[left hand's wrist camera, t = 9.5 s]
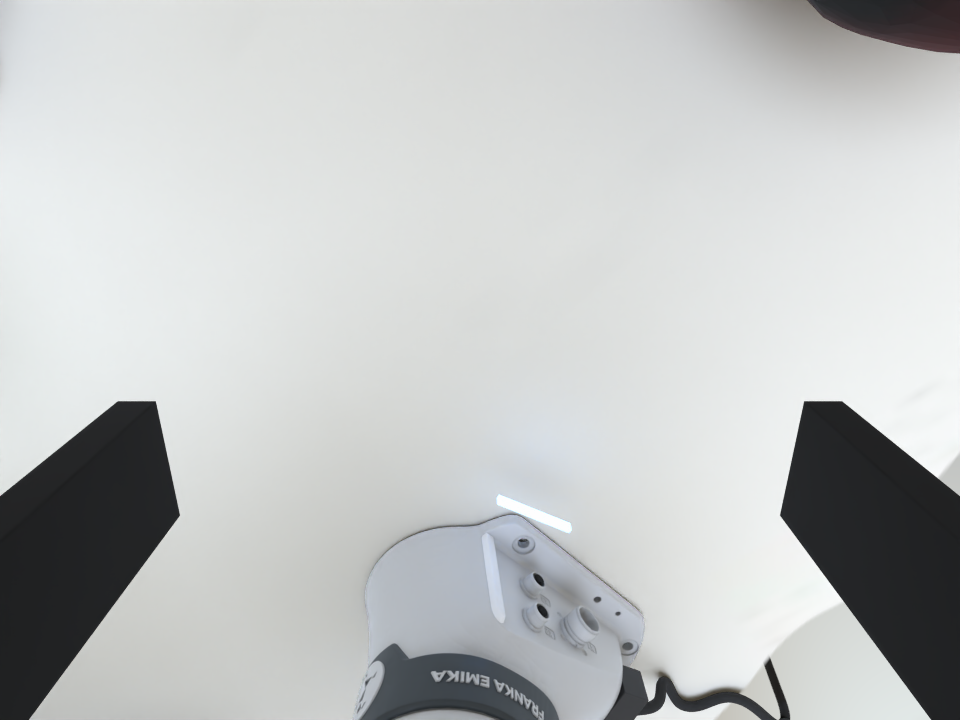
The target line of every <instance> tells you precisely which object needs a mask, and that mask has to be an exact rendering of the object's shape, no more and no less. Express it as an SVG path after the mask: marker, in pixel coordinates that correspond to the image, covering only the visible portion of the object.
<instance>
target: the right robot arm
mask: <svg viewBox="0 0 960 720" xmlns="http://www.w3.org/2000/svg"><path fill="white" fill-rule="evenodd" d="M497 504H498V505H500V506H503V507H505V508H508V509H510V510H513V511H515V512H518V513H520V514H523V515H525V516H528V517H530V518H533V519H535V520H538V521H540V522H543V523H545V524H548V525H550V526H553V527H555V528H558V529H560V530H563V531H565V532H568V533H570V531H571V525H570V523H568V522H566V521H563V520H561V519H558V518H556V517H553V516H551V515H549V514H546V513H544V512H541V511H539V510H536V509H534V508H531V507H529V506H526V505H524V504H521V503H519V502H516V501H514V500H511V499H509V498H506V497H504V496H501V495H498V497H497ZM520 539H527V541H525V542H520V541H519V540H520ZM365 606H366V611H367V616H368V625H369V656H368V670H367V671H366V674H365V676H364V678H363V681H362V684H361V687H360V690H359V694H358V697H357V701H356V706H355V710H354V715H353V720H634V719H635V718H636V716H638V715H646V714H651V713H654V712H656V711H658V710H659V709H660V708H661V707H662V706H663V704H664V702H665V698H666V692H667V694H668V696H669V698H670V700H671V701H672V703H673V704H674V705H675V706H676V707H677V708H679V709H680V710H683V711H687V712H696V711H701V710H704V709H707V708H710V707H712V706H715V705H718V704H721V703H727V702H730V703H736V704H739V705H742V706H744V707H746V708H747V709H749V710H750V711H752V712H753V713H754V714H755V715H757V716H758V717H759V718H760V719H761V720H776V719H775V718H773V717H772V716H771V715H770V714H769V713H768V712H766V711H765V710H764V709H763V708H762V707H761V706H760V705H758V704H757V703H756V702H754V701H753V700H751V699H750V698H748V697H746V696H744V695H741V694H738V693H734V692H721V693H717V694H714V695H711V696H708V697H706V698H703V699H700V700H697V701H685V700H683V699H681V698H680V697H679V695H678V694H677V692H676V689H675V687H674V685H673V683H672V682H671V680H670V679H669V678H667V677H661V678H659V679H658V681H657V684H656V692H655V697H654V699H653V700H651V701H649V702H648V697H647V694H646V690H645V687H644V683H643V680H642V676H641V673H640V671H638V670H635V669H632V668H630V667H629V666H630V665H631V663H632V662H633V660H634V659H635V657H636V655H637V653H638V651H639V649H640V646H641V644H642V641H643V636H644V629H645V624H644V619H643V615H642V614H641V613H640V612H639V611H638V610H637V609H636V608H635V607H634V606H633V605H631V604H630V603H629V602H628V601H626V600H625V599H624V598H623V597H621V596H620V595H619V594H618V593H616V592H615V591H614V590H613V589H611V588H610V587H609V586H608V585H606V584H605V583H604V582H603V581H601V580H600V579H599V578H598V577H596V576H595V575H594V574H593V573H591V572H590V571H589V570H588V569H586V568H585V567H584V566H583V565H581V564H580V563H579V562H578V561H576V560H575V559H574V558H573V557H571V556H570V555H569V554H568V553H566V552H565V551H564V550H563V549H561V548H560V547H559V546H558V545H556V544H555V543H554V542H553V541H551V540H550V539H549V538H548V537H546V536H545V535H544V534H543V533H541V532H540V531H539V530H538V529H536V528H535V527H534V526H533V525H531V524H530V523H529V522H528V521H526V520H525V519H524V518H522V517H520V516H517V515H506V516H502V517H499V518H496V519H493V520H490V521H488V522H485V523H483V524H480V525H476V526H467V527H444V528H437V529H432V530H427V531H424V532H421V533H418V534H415V535H413V536H410V537H408V538H406V539H404V540H402V541H401V542H399V543H397V544H396V545H395V546H393V547H392V548H391V549H389V550H388V551H387V552H386V553H385V554H384V555H383V556H382V557H381V558H380V559H379V561H378V562H377V563H376V565H375V566H374V568H373V570H372V571H371V573H370V576H369V578H368V581H367V585H366V590H365ZM628 642H629V643H628ZM764 667H765V669H766V672H767V675H768V678H769V680H770V683H771V686H772V689H773V692H774V694H775V697H776V700H777V703H778V706H779V710H780V719H779V720H790V711H789V708H788V704H787V701H786V698H785V696H784V693H783V690H782V688H781V685H780V683H779V680H778V677H777V675H776V672H775V669H774V667H773V664H772V661H771V659H770V657H769V658H768V659H767V660H766V662H765V663H764Z"/></svg>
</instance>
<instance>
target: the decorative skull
mask: <svg viewBox="0 0 960 720" xmlns="http://www.w3.org/2000/svg"><path fill="white" fill-rule="evenodd" d="M808 2H809V3H810V4H811V5H812V6H813V7H814V8H815V9H816V10H817V11H818V12H819V13H820V14H821V15H822V16H823V17H824V18H826V19H828V20H829V21H831V22H833V23H835V24H837V25H838V26H840V27H842V28H845V29H847V30H850V31H853V32H855V33H858V34H861V35H865V36H868V37H872V38H876V39H879V40H883V41H887V42H891V43H895V44H899V45H903V46H907V47H913V48H918V49H924V50H929V51H935V52H946V53H960V0H808Z"/></svg>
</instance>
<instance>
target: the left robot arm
mask: <svg viewBox="0 0 960 720" xmlns="http://www.w3.org/2000/svg"><path fill="white" fill-rule="evenodd" d="M179 516H180V514H179V509H178V504H177V499H176V495H175V490H174V485H173V481H172V476H171V471H170V466H169V462H168V457H167V452H166V448H165V443H164V438H163V433H162V429H161V424H160V419H159V415H158V410H157V405H156V401H118V402H117V403H115V404H114V405H113V406H112V407H110V408H109V409H108V410H107V411H105V412H104V413H103V414H102V415H100V416H99V417H98V418H97V419H95V420H94V421H93V422H92V423H90V424H89V425H88V426H87V427H85V428H84V429H83V430H82V431H81V432H79V433H78V434H77V435H76V436H74V437H73V438H72V439H71V440H69V441H68V442H67V443H66V444H64V445H63V446H62V447H61V448H59V449H58V450H57V451H56V452H54V453H53V454H52V455H51V456H49V457H48V458H47V459H46V460H45V461H43V462H42V463H41V464H40V465H38V466H37V467H36V468H35V469H33V470H32V471H31V472H30V473H28V474H27V475H26V476H25V477H23V478H22V479H21V480H20V481H18V482H17V483H16V484H15V485H13V486H12V487H11V488H10V489H9V490H7V491H6V492H5V493H4V494H2V495H1V496H0V720H29V719H30V717H31V716H32V715H33V713H34V712H35V711H36V709H37V708H38V707H39V705H40V704H41V703H42V701H43V700H44V698H45V697H46V696H47V694H48V693H49V692H50V690H51V689H52V688H53V686H54V685H55V684H56V682H57V681H58V680H59V678H60V677H61V675H62V674H63V673H64V671H65V670H66V669H67V667H68V666H69V665H70V663H71V662H72V661H73V659H74V658H75V657H76V655H77V654H78V653H79V651H80V650H81V648H82V647H83V646H84V644H85V643H86V642H87V640H88V639H89V638H90V636H91V635H92V634H93V632H94V631H95V630H96V628H97V627H98V625H99V624H100V623H101V621H102V620H103V619H104V617H105V616H106V615H107V613H108V612H109V611H110V609H111V608H112V607H113V605H114V604H115V602H116V601H117V600H118V598H119V597H120V596H121V594H122V593H123V592H124V590H125V589H126V588H127V586H128V585H129V584H130V582H131V581H132V579H133V578H134V577H135V575H136V574H137V573H138V571H139V570H140V569H141V567H142V566H143V565H144V563H145V562H146V561H147V559H148V558H149V557H150V555H151V554H152V552H153V551H154V550H155V548H156V547H157V546H158V544H159V543H160V542H161V540H162V539H163V538H164V536H165V535H166V534H167V532H168V531H169V529H170V528H171V527H172V525H173V524H174V523H175V521H176V520H177V519H178V517H179ZM780 516H781V517H782V519H783V520H784V521H785V523H786V524H787V525H788V527H789V528H790V529H791V531H792V532H793V534H794V535H795V536H796V538H797V539H798V540H799V542H800V543H801V544H802V546H803V547H804V548H805V550H806V551H807V552H808V554H809V555H810V557H811V558H812V559H813V561H814V562H815V563H816V565H817V566H818V567H819V569H820V570H821V571H822V573H823V574H824V575H825V577H826V578H827V579H828V581H829V582H830V584H831V585H832V586H833V588H834V589H835V590H836V592H837V593H838V594H839V596H840V597H841V598H842V600H843V601H844V602H845V604H846V605H847V607H848V608H849V609H850V611H851V612H852V613H853V615H854V616H855V617H856V619H857V620H858V621H859V623H860V624H861V625H862V627H863V628H864V630H865V631H866V632H867V634H868V635H869V636H870V638H871V639H872V640H873V642H874V643H875V644H876V646H877V647H878V648H879V650H880V651H881V652H882V654H883V655H884V657H885V658H886V659H887V661H888V662H889V663H890V665H891V666H892V667H893V669H894V670H895V671H896V673H897V674H898V675H899V677H900V678H901V680H902V681H903V682H904V684H905V685H906V686H907V688H908V689H909V690H910V692H911V693H912V694H913V696H914V697H915V698H916V700H917V701H918V703H919V704H920V705H921V707H922V708H923V709H924V711H925V712H926V713H927V715H928V716H929V717H930V719H931V720H960V496H959V495H958V494H956V493H955V492H954V491H953V490H951V489H950V488H949V487H948V486H946V485H945V484H944V483H943V482H941V481H940V480H939V479H938V478H937V477H935V476H934V475H933V474H932V473H930V472H929V471H928V470H927V469H925V468H924V467H923V466H922V465H920V464H919V463H918V462H917V461H915V460H914V459H913V458H912V457H911V456H909V455H908V454H907V453H906V452H904V451H903V450H902V449H901V448H899V447H898V446H897V445H896V444H894V443H893V442H892V441H891V440H889V439H888V438H887V437H886V436H884V435H883V434H882V433H881V432H879V431H878V430H877V429H876V428H875V427H873V426H872V425H871V424H870V423H868V422H867V421H866V420H865V419H863V418H862V417H861V416H860V415H858V414H857V413H856V412H855V411H853V410H852V409H851V408H850V407H848V406H847V405H846V404H845V403H843V402H842V401H804V405H803V410H802V415H801V419H800V424H799V429H798V433H797V438H796V443H795V448H794V452H793V457H792V462H791V466H790V471H789V476H788V481H787V485H786V490H785V495H784V499H783V504H782V509H781V514H780Z"/></svg>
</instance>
